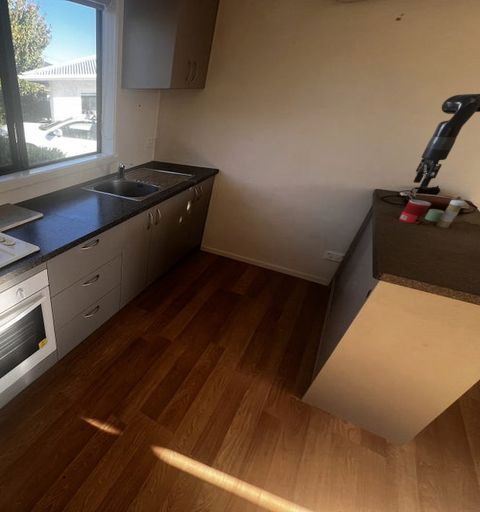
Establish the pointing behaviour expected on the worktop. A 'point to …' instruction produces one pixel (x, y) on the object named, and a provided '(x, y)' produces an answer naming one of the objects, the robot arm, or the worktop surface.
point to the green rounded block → (434, 215)
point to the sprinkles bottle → (450, 213)
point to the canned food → (414, 211)
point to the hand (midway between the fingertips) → (419, 184)
